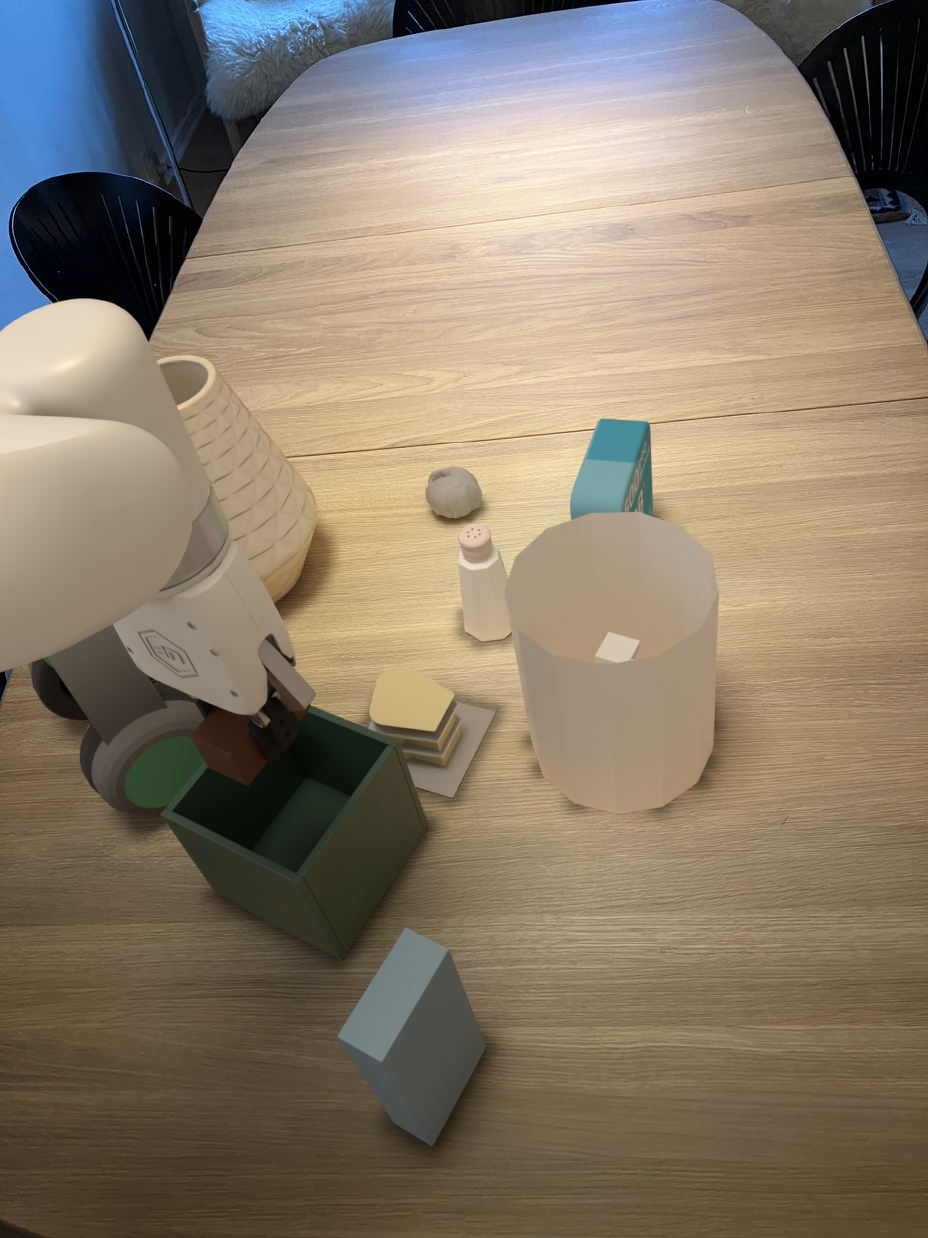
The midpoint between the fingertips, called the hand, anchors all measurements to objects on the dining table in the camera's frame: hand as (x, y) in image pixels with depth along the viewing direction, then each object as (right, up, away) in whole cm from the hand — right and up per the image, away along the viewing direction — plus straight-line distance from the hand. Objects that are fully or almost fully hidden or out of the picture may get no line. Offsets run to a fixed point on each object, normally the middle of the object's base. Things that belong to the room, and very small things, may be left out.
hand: (257, 732), depth 68 cm
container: (+26, -2, +16) cm, 31 cm away
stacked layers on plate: (+10, -3, +19) cm, 21 cm away
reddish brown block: (0, 0, 0) cm, 1 cm away
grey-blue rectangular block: (+12, -23, -1) cm, 26 cm away
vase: (-8, +12, +36) cm, 39 cm away
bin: (+3, -11, +12) cm, 17 cm away
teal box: (+28, +13, +30) cm, 43 cm away
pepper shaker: (+16, +7, +26) cm, 32 cm away
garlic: (+13, +19, +38) cm, 44 cm away
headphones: (-14, -3, +23) cm, 28 cm away
